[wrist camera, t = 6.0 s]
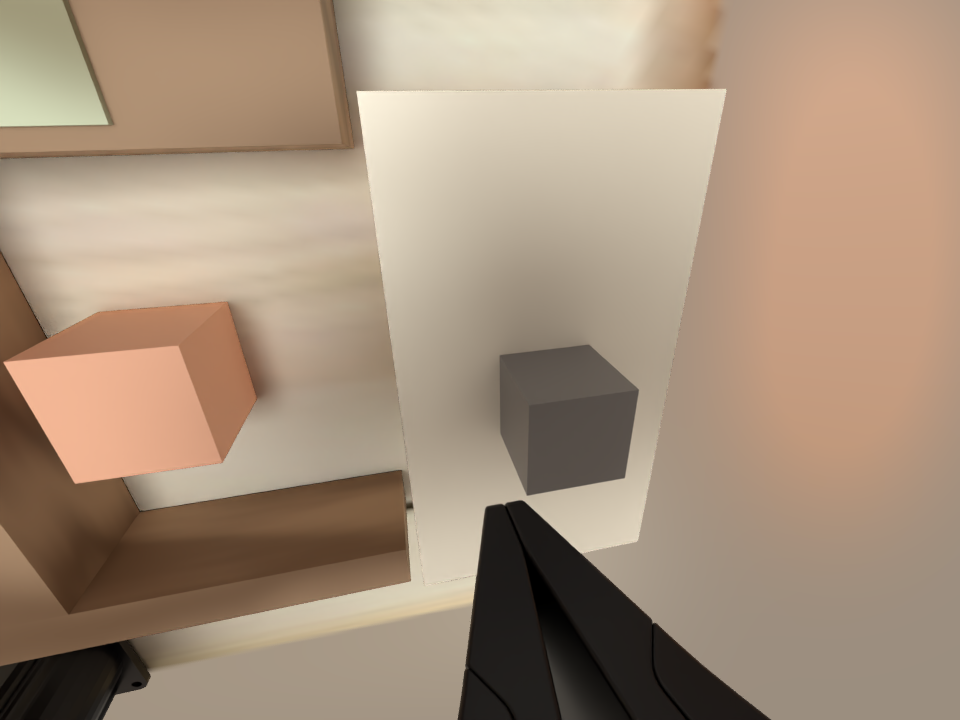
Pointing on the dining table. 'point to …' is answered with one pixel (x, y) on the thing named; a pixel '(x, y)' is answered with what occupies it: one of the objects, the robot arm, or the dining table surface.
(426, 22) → the dining table surface
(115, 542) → the brown shallow open box
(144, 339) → the block
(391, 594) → the dining table surface
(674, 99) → the cover
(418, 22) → the dining table surface
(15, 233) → the dining table surface
